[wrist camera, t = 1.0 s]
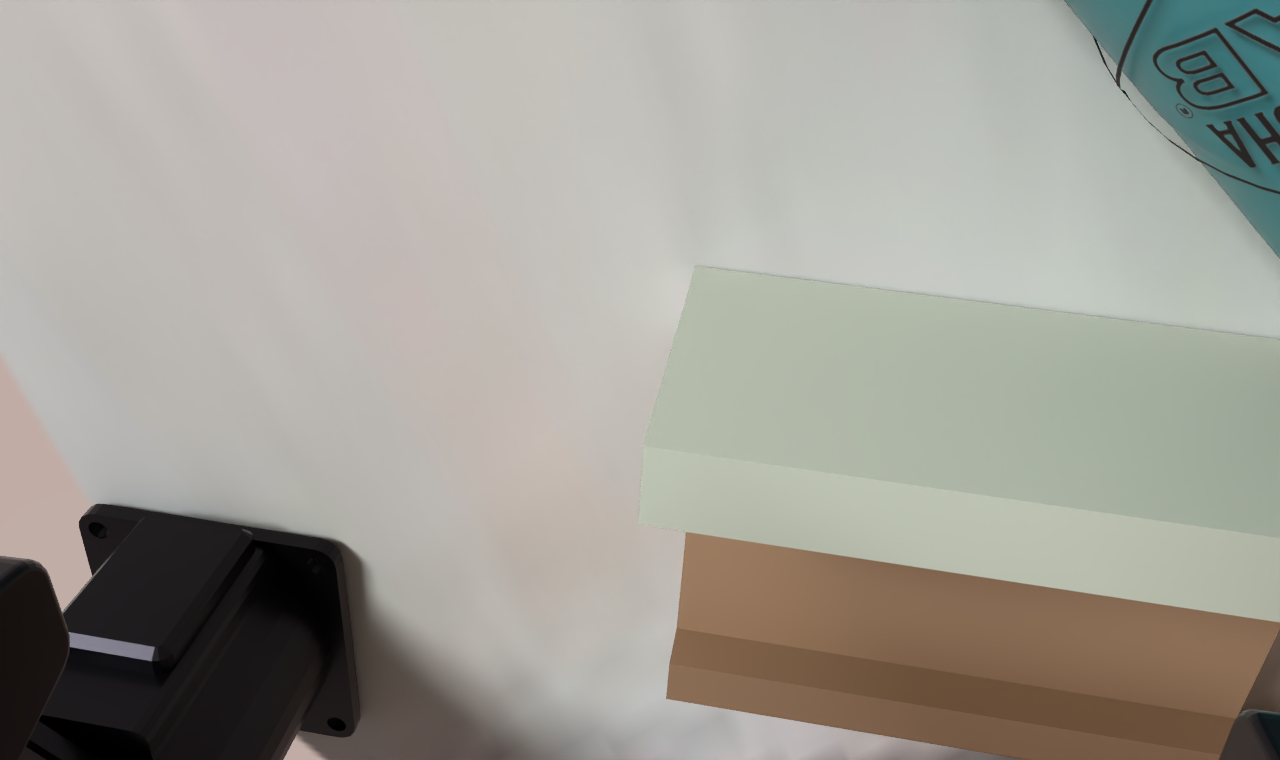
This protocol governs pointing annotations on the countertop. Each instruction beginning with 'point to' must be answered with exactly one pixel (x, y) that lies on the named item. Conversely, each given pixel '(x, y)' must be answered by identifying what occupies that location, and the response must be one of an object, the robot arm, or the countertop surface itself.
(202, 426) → the countertop surface
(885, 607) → the wooden stand with panel
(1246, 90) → the beverage bottle
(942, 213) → the countertop surface
